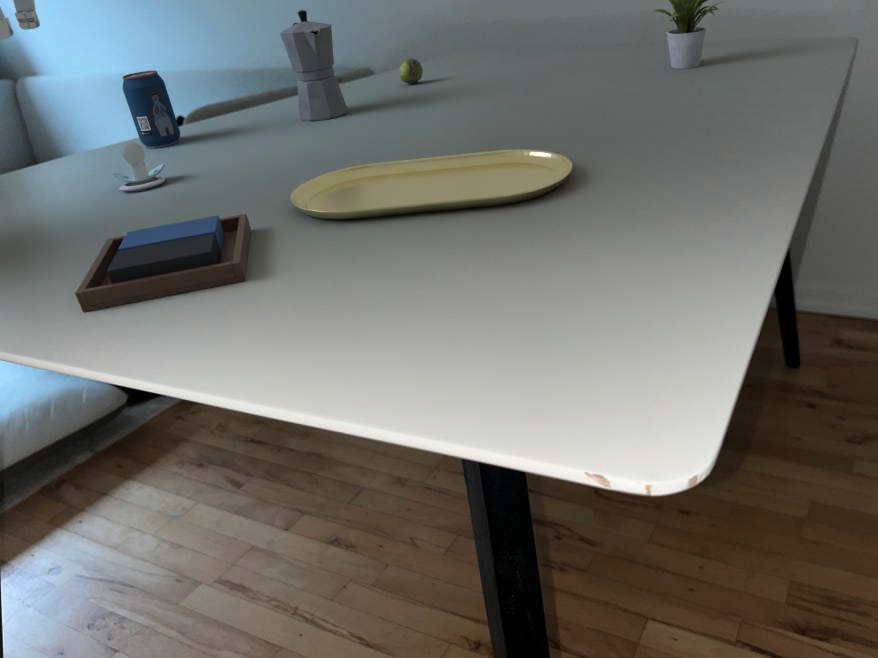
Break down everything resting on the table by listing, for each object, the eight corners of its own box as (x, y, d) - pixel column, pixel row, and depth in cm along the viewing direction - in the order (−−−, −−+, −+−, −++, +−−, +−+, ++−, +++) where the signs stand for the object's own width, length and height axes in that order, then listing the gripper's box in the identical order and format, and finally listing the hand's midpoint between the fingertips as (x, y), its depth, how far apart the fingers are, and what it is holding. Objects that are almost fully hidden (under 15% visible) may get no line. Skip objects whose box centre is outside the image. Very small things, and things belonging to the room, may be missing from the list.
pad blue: (126, 270, 79) (117, 248, 77) (135, 252, 83) (127, 231, 82) (221, 252, 80) (214, 231, 79) (225, 235, 85) (218, 215, 84)
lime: (398, 86, 156) (394, 61, 153) (412, 81, 159) (408, 56, 156) (414, 86, 153) (410, 61, 151) (428, 81, 157) (425, 56, 154)
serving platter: (578, 202, 82) (578, 188, 82) (275, 231, 86) (271, 218, 85) (568, 155, 98) (567, 143, 98) (312, 180, 102) (310, 169, 101)
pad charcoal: (115, 293, 73) (106, 270, 72) (125, 272, 78) (117, 251, 77) (218, 274, 75) (210, 251, 74) (221, 254, 80) (214, 233, 78)
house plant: (710, 75, 131) (714, -28, 122) (636, 75, 138) (635, -23, 129) (734, 59, 140) (740, -38, 132) (664, 59, 148) (666, -32, 139)
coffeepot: (358, 115, 135) (338, 7, 126) (308, 126, 132) (284, 16, 123) (334, 103, 148) (314, 4, 138) (288, 113, 144) (264, 12, 135)
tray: (82, 312, 72) (74, 293, 71) (113, 254, 85) (107, 238, 84) (245, 280, 74) (239, 262, 73) (251, 229, 87) (246, 213, 86)
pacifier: (169, 186, 108) (169, 175, 113) (155, 144, 105) (155, 134, 110) (117, 197, 106) (118, 185, 111) (100, 154, 103) (103, 144, 108)
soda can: (156, 139, 137) (134, 71, 131) (189, 137, 135) (168, 68, 129) (134, 150, 131) (110, 79, 125) (169, 148, 130) (145, 76, 123)
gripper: (-35, -111, 80) (17, 27, 87) (-124, -125, 63) (-51, 48, 70) (27, -117, 81) (73, 20, 88) (-44, -132, 64) (20, 40, 71)
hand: (18, 33), depth 79 cm, fingers open, 8 cm apart
